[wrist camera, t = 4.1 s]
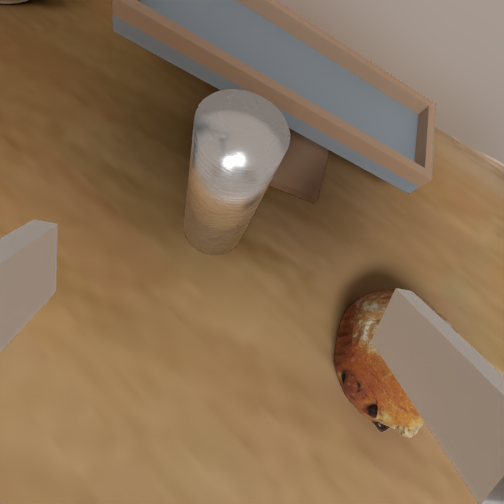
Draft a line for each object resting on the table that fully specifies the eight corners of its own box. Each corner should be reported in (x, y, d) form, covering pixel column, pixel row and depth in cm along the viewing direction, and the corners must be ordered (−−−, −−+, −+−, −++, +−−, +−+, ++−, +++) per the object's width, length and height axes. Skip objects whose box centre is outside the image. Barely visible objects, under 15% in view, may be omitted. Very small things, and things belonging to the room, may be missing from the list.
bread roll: (415, 362, 31) (489, 320, 26) (418, 472, 24) (525, 443, 18) (331, 303, 32) (389, 251, 26) (305, 393, 24) (381, 343, 19)
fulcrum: (192, 155, 29) (197, 115, 25) (231, 71, 34) (241, 24, 30) (313, 203, 31) (339, 172, 26) (334, 114, 36) (358, 76, 31)
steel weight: (174, 242, 26) (179, 144, 15) (195, 192, 28) (213, 75, 17) (232, 263, 27) (277, 183, 16) (249, 213, 29) (299, 111, 18)
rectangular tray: (106, 47, 22) (104, 5, 20) (166, -34, 27) (172, -77, 24) (402, 206, 28) (431, 189, 26) (410, 118, 33) (436, 96, 30)
